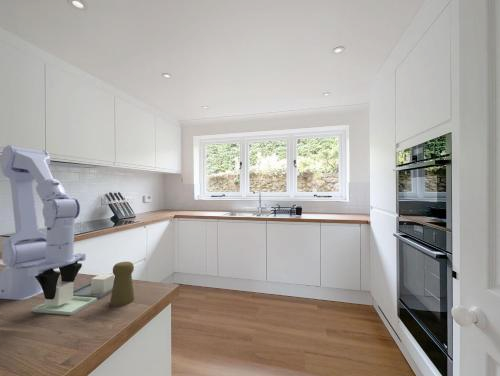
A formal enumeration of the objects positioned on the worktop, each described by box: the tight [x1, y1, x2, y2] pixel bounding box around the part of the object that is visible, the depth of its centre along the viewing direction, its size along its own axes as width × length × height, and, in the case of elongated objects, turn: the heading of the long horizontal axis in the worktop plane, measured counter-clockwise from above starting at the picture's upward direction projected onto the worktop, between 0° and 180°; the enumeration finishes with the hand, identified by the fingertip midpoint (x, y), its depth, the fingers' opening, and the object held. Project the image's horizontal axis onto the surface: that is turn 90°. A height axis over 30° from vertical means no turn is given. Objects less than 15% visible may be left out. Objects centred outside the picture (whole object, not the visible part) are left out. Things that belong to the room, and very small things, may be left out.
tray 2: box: [73, 281, 112, 300], centre depth 71 cm, size 11×9×1 cm
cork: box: [109, 261, 135, 307], centre depth 65 cm, size 6×6×11 cm
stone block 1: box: [43, 280, 75, 306], centre depth 62 cm, size 4×4×4 cm
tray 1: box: [31, 296, 98, 316], centre depth 62 cm, size 11×8×1 cm
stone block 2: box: [90, 273, 115, 295], centre depth 71 cm, size 4×4×4 cm
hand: (58, 295), depth 62 cm, fingers closed on stone block 1, 4 cm apart
